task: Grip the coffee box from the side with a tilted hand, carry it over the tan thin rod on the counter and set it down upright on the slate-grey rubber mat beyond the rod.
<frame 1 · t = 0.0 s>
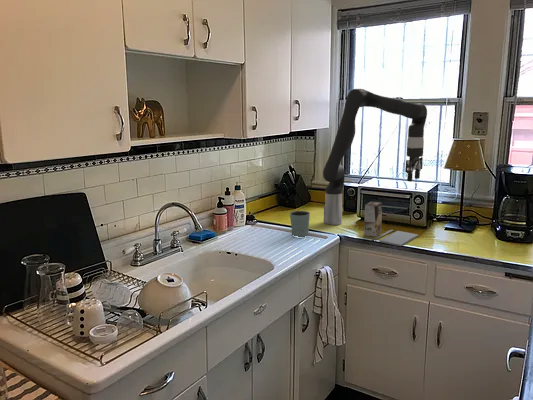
hand: (413, 179, 219), 29 cm above the worktop, tool pointing down, fingers open, 8 cm apart
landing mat: (399, 238, 224), on the worktop
coffee box: (372, 234, 234), on the worktop
tan thin rod: (382, 235, 230), on the worktop
grey green cup: (299, 235, 233), on the worktop
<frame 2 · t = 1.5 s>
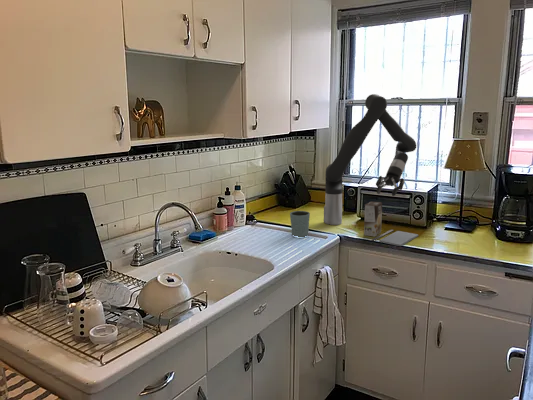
hand: (385, 194, 239), 19 cm above the worktop, tool tilted 45°, fingers open, 8 cm apart
nothing on the worktop moved.
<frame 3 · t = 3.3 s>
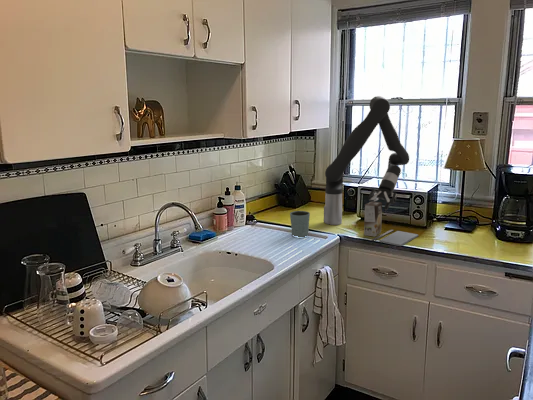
hand: (377, 208, 234), 13 cm above the worktop, tool tilted 45°, fingers open, 8 cm apart
nothing on the worktop moved.
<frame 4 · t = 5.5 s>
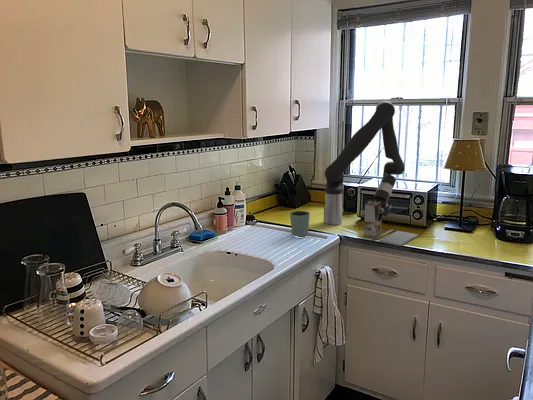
hand: (371, 219, 231), 8 cm above the worktop, tool tilted 45°, fingers closed on coffee box, 7 cm apart
coffee box: (372, 234, 234), on the worktop, touching gripper
everything else where it was.
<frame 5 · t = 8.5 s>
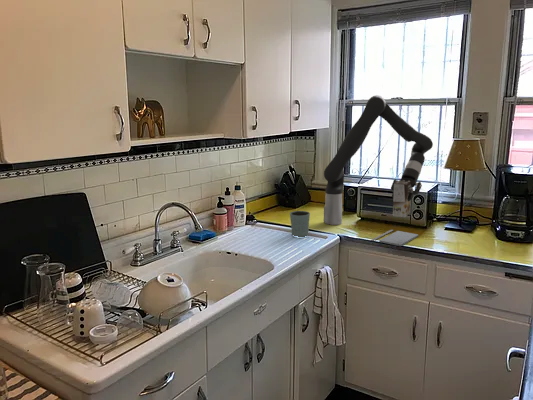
hand: (400, 199, 219), 20 cm above the worktop, tool tilted 45°, fingers closed on coffee box, 7 cm apart
coffee box: (401, 215, 222), point 12 cm above the worktop, touching gripper
everything else where it was.
when the fingers open (10 cm above the worktop, at t = 11.5 s): coffee box stays where it is, resting on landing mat.
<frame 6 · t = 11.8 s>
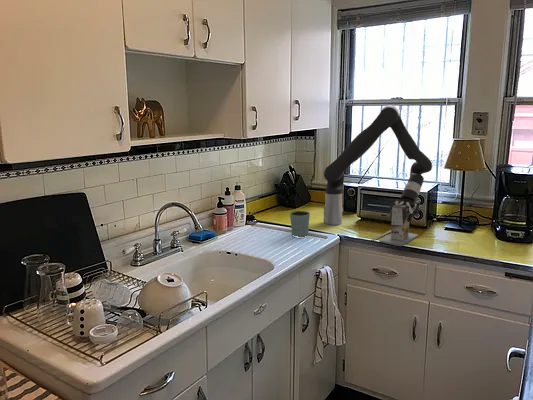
hand: (399, 219, 221), 10 cm above the worktop, tool tilted 45°, fingers open, 8 cm apart
coffee box: (399, 237, 224), point 1 cm above the worktop, touching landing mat
everything else where it was.
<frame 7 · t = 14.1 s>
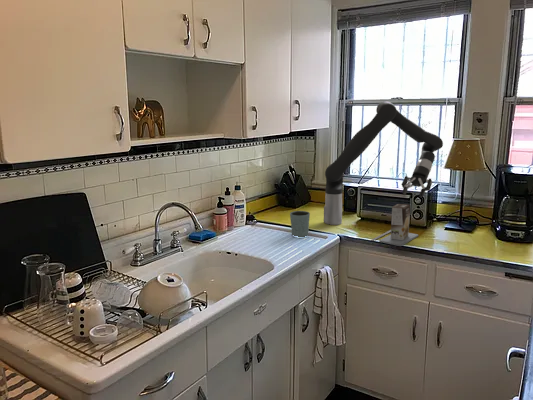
hand: (412, 195, 228), 20 cm above the worktop, tool tilted 45°, fingers open, 8 cm apart
nothing on the worktop moved.
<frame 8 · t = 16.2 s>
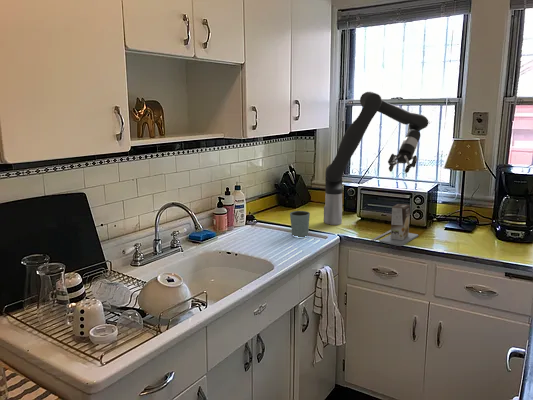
hand: (397, 171, 235), 31 cm above the worktop, tool tilted 45°, fingers open, 8 cm apart
nothing on the worktop moved.
at the end: coffee box inside the target area (0.2 cm from its centre), point 0.6 cm above the worktop; coffee box tilted 0°; the gripper is holding nothing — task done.
